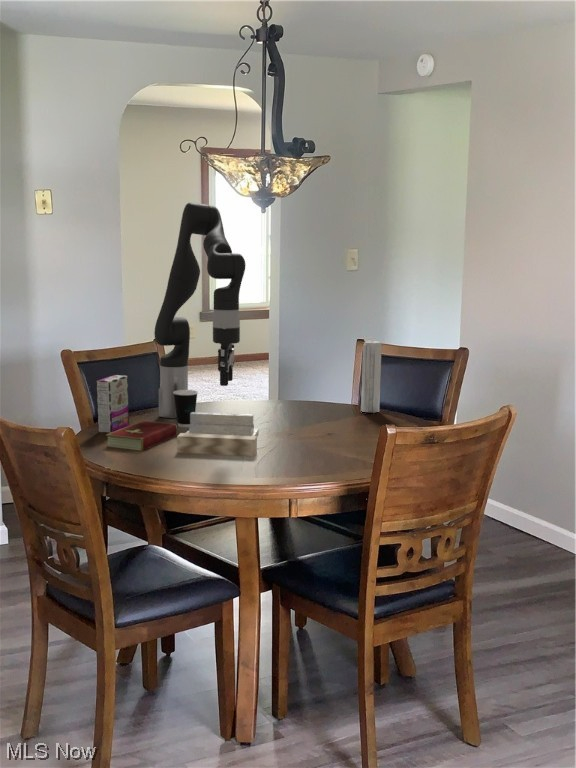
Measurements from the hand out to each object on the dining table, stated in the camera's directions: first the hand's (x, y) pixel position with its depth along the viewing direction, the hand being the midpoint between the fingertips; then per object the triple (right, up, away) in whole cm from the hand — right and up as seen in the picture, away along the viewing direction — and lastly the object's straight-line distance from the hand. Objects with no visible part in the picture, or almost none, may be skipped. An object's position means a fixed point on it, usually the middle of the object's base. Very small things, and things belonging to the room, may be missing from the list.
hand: (226, 383), depth 237 cm
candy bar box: (-37, -15, +27) cm, 48 cm away
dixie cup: (-16, -14, +34) cm, 40 cm away
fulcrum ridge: (-3, -16, +20) cm, 26 cm away
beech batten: (-3, -20, +1) cm, 20 cm away
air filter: (+46, -10, +60) cm, 76 cm away
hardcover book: (-26, -18, +13) cm, 34 cm away
